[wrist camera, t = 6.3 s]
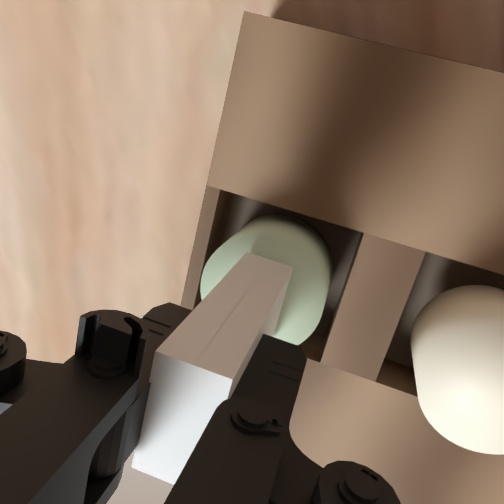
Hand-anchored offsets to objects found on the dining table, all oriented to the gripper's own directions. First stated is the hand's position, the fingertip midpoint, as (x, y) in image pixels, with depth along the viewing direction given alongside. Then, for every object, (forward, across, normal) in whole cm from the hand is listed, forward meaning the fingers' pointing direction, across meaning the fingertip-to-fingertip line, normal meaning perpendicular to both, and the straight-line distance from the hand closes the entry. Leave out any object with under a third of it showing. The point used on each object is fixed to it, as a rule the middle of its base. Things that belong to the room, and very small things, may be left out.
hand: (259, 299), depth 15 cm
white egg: (+2, +7, 0) cm, 7 cm away
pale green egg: (+3, 0, 0) cm, 3 cm away
